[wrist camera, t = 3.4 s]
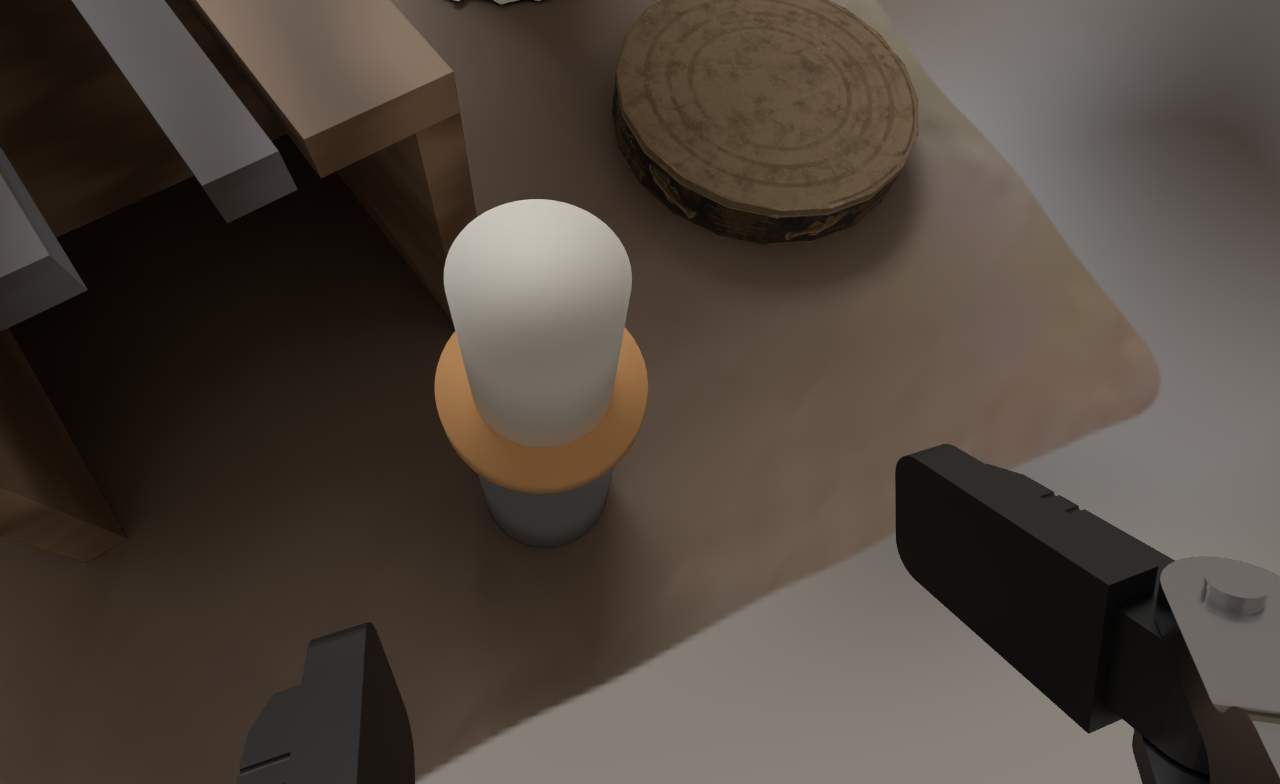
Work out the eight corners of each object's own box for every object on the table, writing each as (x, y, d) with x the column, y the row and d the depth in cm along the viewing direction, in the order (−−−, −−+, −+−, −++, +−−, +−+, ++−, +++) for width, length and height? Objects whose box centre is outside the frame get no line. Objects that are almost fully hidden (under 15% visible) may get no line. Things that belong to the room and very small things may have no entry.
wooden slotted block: (86, 562, 27) (-334, 429, 14) (-74, 265, 31) (-511, -47, 18) (492, 319, 33) (453, 71, 20) (314, 96, 37) (187, -227, 24)
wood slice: (733, 299, 35) (748, 265, 32) (554, 86, 39) (555, 40, 37) (952, 169, 40) (981, 130, 37) (772, -7, 44) (786, -54, 42)
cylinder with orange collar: (558, 591, 28) (561, 461, 14) (442, 499, 29) (332, 289, 15) (647, 475, 31) (729, 260, 16) (537, 394, 32) (521, 123, 17)
